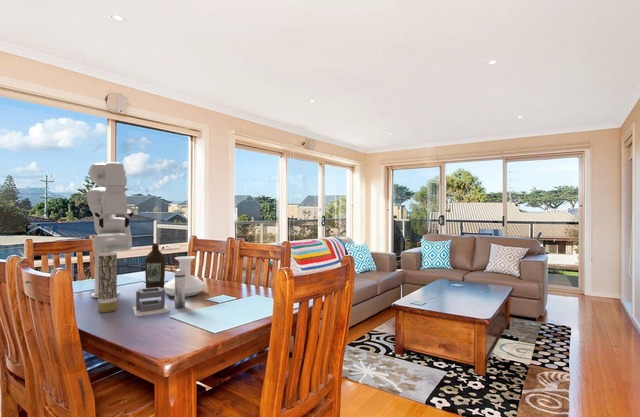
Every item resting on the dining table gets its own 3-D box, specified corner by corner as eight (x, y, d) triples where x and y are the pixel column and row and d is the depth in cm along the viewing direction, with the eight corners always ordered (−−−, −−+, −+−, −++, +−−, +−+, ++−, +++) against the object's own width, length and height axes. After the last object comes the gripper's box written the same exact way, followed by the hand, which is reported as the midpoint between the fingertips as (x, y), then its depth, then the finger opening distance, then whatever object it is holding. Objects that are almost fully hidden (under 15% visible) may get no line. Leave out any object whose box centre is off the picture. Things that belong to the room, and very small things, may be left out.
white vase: (155, 295, 183) (155, 258, 183) (188, 288, 200) (188, 254, 200) (180, 301, 172) (180, 261, 172) (212, 293, 189) (213, 256, 189)
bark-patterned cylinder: (108, 313, 152) (108, 254, 152) (94, 312, 153) (94, 254, 153) (120, 309, 158) (120, 252, 158) (106, 308, 160) (107, 252, 160)
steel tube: (173, 306, 163) (173, 269, 163) (183, 305, 165) (184, 268, 165) (175, 309, 159) (175, 271, 159) (186, 307, 161) (186, 270, 161)
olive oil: (146, 286, 204) (147, 242, 204) (166, 285, 207) (167, 242, 207) (142, 290, 194) (143, 244, 194) (163, 289, 197) (163, 244, 197)
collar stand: (132, 309, 159) (132, 288, 159) (164, 304, 166) (164, 285, 166) (135, 316, 148) (135, 294, 148) (169, 311, 155) (169, 291, 155)
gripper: (133, 191, 171) (133, 226, 170) (91, 189, 160) (90, 227, 160) (137, 190, 165) (137, 227, 165) (93, 188, 154) (92, 228, 154)
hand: (114, 227), depth 162 cm, fingers open, 9 cm apart
